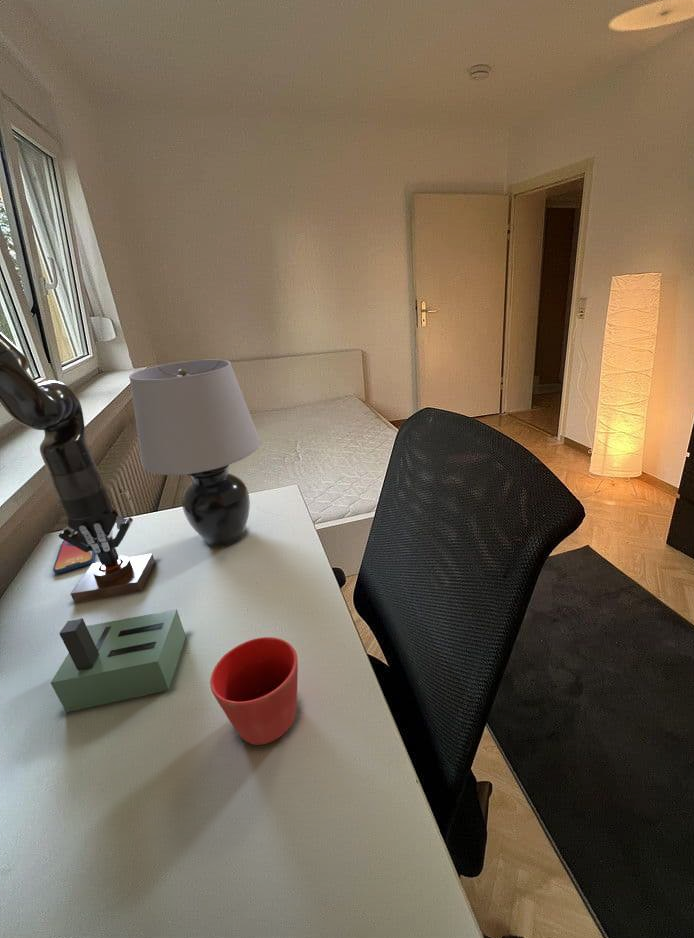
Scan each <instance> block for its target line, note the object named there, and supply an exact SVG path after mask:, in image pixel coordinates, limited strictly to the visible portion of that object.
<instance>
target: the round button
mask: <svg viewBox="0 0 694 938" xmlns="http://www.w3.org/2000/svg"><path fill="white" fill-rule="evenodd" d="M121 564H122V563H121V561H120V560H117V562H116V563H115V565H114V566H111V567H105V565H102V566H101V571H102V572H107V571H111V570H114V569H116V568H118V567H119V566H121Z"/></svg>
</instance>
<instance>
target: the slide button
mask: <svg viewBox="0 0 694 938" xmlns="http://www.w3.org/2000/svg"><path fill="white" fill-rule="evenodd" d="M87 626H88V625H87V624H86V623H85V620H84V618H78V619H77V618H76V619H73V620H68V621H66V622H65V624H64V626H63V627H62V629H61V630H60V632H59V633H58V634H59V636H60V638H61V640H62V642H63V645H64V646H65V648H66V650H67V653H69V654H70V656H71V658H72V660H73V662H74V664H75V666H76V668H77V670H82V669H87V668H92V667H93V666H94V664H95V662H96V660H97V658H98V656H99V653H98V650H97V648H96V646H95V644H94V642H93V640H92V637H91V635H90V633H89V631H88V629H87Z"/></svg>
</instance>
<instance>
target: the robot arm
mask: <svg viewBox="0 0 694 938" xmlns="http://www.w3.org/2000/svg"><path fill="white" fill-rule="evenodd" d="M29 367H30V360H29V358H28V357H27V356H26V355H25V354H24V352H22V351H21V350H20V349H19V348H18V346H16V345H15V344H13V342H11V341H10V339H8V338H7V337H6V336H5V335H4V334H3V333H2V332H0V405H1V406H2V408H3V409H4V410H5V411H6V413H8V414H9V416H10V417H11V418H12V419H14V420H15V421H17V422H18V423H19V424H21V425H23V426H24V427H26V428H30V429H32V430H37V431H43V433H44V437H43V439H42V441H41V443H40V446H39V453H40V456H41V459H42V461H43V464H44V465H45V467H46V470H47V472H48V475H49V478H50V483H51V485H52V489H53V491H54V494H55V495H56V498H57V499H58V503H59V505H60V508H61V509H62V512H63V514H64V516H65V518H67V522H66V525H67V526H66V527H64V528H63V529H62V531H60V533H59V534H58V537H59V538H60V539H61V540H62V541H64V540H65V541H66V542H68V543H70V544H72V545H73V546H75V547H77V548H79V549H81V550H82V551H84V552H89V551H94V552H95V554H96V555H97V557H98V560H99V562H101V564H102V565H105V567H111V566H114V565H115V563H116V562H117V560H118V558H119V556H120V555H119V553H118V551H117V548H119V546H120V544H121V542H123V540H124V538H125V536H126V534H127V533H128V531H129V529H130V527H131V525H132V523H133V521H134V518H132V517H129V516H128V517H126V518H125V517H122V516H121V515H120V516H119V513H118V511H116V510H115V508H114V507H113V503H112V500H111V498H110V495H109V492H108V489H107V487H106V484H105V482H104V479H103V476H102V474H101V471H100V469H99V468H98V466H97V465H96V462H95V459H94V457H93V454H92V451H91V450H90V446H89V445H88V443H87V438H86V426H85V419H84V411H83V408H82V407H83V406H82V405H81V402H80V399H79V398H78V396H77V394H76V393H75V391H74V390H73V389H72V388H71V387H69V386H68V385H67V384H66V383H63V382H62V381H61V382H60V381H57V380H47V381H43V382H40V383H37V382H36V380H34V378H33V377H32V376H31V374H30V373H29V372H28V369H29ZM115 525H116V529H117V530H118V532H117V533H116V534H115V537H114V536H113V534H114V531H113V529H114V526H115Z"/></svg>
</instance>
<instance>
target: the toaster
mask: <svg viewBox="0 0 694 938" xmlns="http://www.w3.org/2000/svg"><path fill="white" fill-rule="evenodd" d="M86 626H87V629H88V631H89V633H90V635H91V637H92V640H93V642H94V644H95V646H96V648H97V650H98V653H99V656H98V658H97V660H96V662H95V664H94V666H93V667H92V668H87V669H82V670H77V668H76V666H75V664H74V662H73V660H72V658H71V656H70V654H69V652H67V653H68V654H67V655H66V657H64V660H63V661H62V663H61V665H60V666H59V668H58V670H57V672H56V673H55V674H54V676H53V678H52V680H51V681H50V685H51V687H52V689H53V691H54V692H55V694H56V696H57V698H58V700H59V702H60V703H61V705H62V707H63V709H64V711H65V713H69V712H74V711H78V710H83V709H87V708H92V707H97V706H103V705H107V704H112V703H117V702H121V701H126V700H130V699H134V698H139V697H143V696H144V697H145V696H148V695H154V694H158V693H162V692H167V691H170V688H171V685H172V682H173V679H174V676H175V672H176V669H177V666H178V663H179V659H180V656H181V653H182V650H183V647H184V645H185V641H186V637H187V635H186V631H185V629H184V625H183V623H182V621H181V618H180V615H179V612H178V609H172V610H166V611H160V612H154V613H149V614H144V615H139V616H133V617H128V618H123V619H116V620H112V621H107V622H100V623H96V624H90V625H86Z"/></svg>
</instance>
